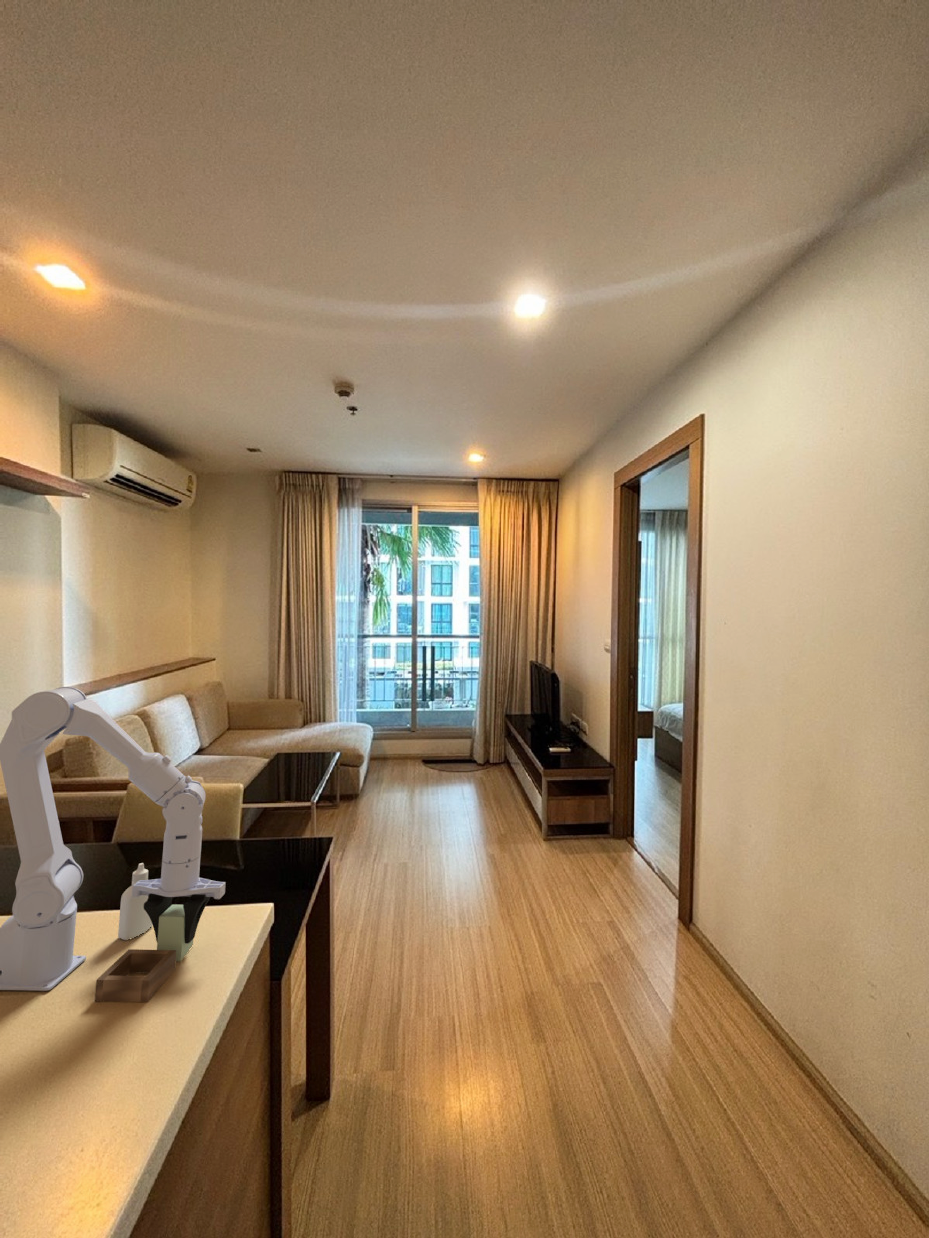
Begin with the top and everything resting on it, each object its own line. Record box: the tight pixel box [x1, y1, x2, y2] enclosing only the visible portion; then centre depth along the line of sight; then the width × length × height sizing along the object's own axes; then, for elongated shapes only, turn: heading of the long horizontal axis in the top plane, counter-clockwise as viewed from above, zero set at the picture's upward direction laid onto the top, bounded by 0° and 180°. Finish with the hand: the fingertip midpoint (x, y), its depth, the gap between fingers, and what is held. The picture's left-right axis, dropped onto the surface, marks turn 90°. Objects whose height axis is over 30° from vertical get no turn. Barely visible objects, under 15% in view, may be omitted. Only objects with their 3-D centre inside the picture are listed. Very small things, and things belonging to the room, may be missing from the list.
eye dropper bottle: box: [117, 862, 153, 941], centre depth 91 cm, size 4×6×12 cm
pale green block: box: [156, 904, 194, 962], centre depth 86 cm, size 4×4×7 cm
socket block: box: [94, 948, 177, 1003], centre depth 77 cm, size 8×8×3 cm
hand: (175, 939), depth 85 cm, fingers closed on pale green block, 4 cm apart
